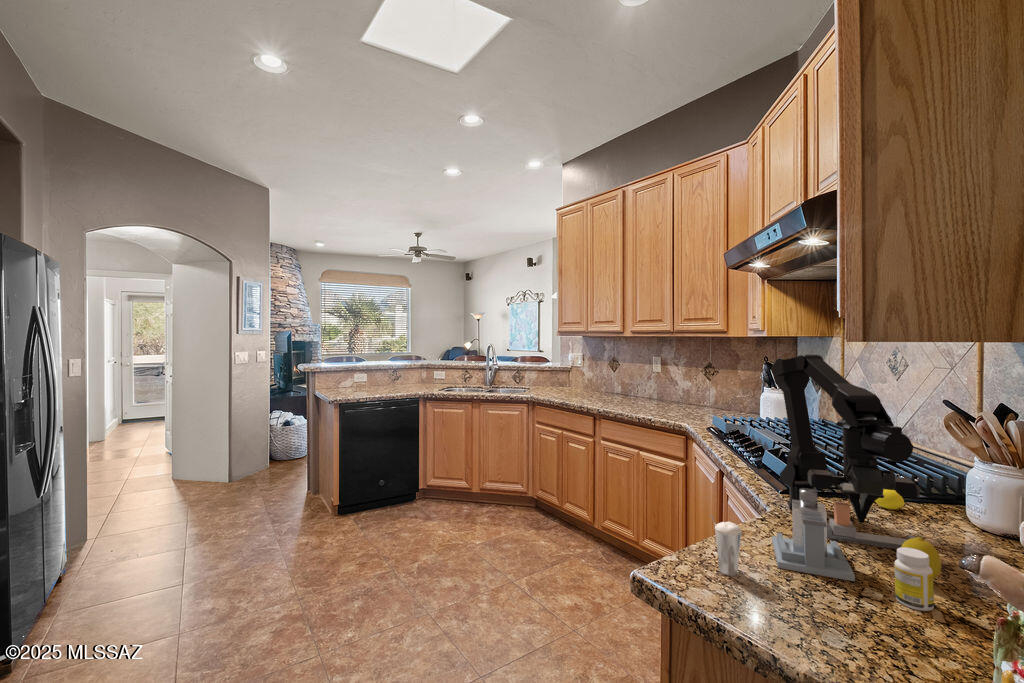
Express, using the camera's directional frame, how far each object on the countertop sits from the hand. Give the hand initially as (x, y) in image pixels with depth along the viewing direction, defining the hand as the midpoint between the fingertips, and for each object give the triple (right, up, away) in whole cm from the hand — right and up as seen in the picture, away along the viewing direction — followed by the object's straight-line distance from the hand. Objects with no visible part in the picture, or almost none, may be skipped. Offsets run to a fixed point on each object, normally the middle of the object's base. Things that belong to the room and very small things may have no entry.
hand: (860, 522), depth 98 cm
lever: (-3, -3, +1) cm, 4 cm away
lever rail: (+1, -4, -1) cm, 4 cm away
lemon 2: (-3, -4, -17) cm, 18 cm away
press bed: (-17, -4, -9) cm, 19 cm away
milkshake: (-36, -4, -13) cm, 38 cm away
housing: (-17, -3, -9) cm, 19 cm away
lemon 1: (+22, -4, +19) cm, 30 cm away
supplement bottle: (-10, -4, -24) cm, 26 cm away
